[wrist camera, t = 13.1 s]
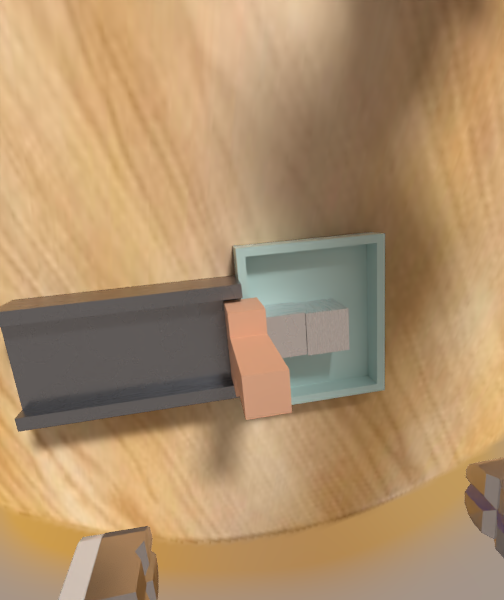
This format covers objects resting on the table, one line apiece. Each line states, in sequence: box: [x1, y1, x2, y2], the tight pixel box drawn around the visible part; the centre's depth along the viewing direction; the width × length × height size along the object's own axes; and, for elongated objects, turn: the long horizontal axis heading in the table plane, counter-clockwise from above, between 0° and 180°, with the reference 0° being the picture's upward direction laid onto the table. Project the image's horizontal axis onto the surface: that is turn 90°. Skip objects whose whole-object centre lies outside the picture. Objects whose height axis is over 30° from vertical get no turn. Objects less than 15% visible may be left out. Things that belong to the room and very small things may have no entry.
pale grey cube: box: [294, 298, 349, 356], centre depth 36 cm, size 4×4×4 cm
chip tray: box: [233, 232, 385, 405], centre depth 37 cm, size 14×16×2 cm
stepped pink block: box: [223, 297, 292, 420], centre depth 29 cm, size 3×7×11 cm, turn 5°
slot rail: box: [0, 275, 243, 432], centre depth 34 cm, size 20×10×4 cm, turn 95°
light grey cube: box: [264, 302, 307, 358], centre depth 35 cm, size 4×4×4 cm
